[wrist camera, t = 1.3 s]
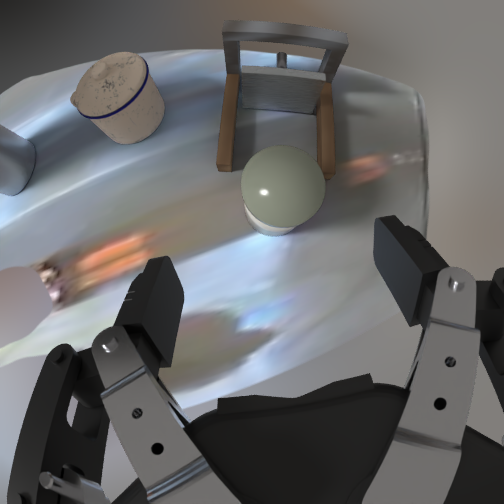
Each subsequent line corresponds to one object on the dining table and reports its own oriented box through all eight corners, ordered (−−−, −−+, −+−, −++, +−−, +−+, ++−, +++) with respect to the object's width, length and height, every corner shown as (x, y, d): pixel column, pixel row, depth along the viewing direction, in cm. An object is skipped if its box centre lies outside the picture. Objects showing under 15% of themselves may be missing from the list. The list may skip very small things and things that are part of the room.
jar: (241, 236, 32) (238, 223, 22) (245, 178, 32) (243, 142, 22) (301, 239, 32) (324, 229, 22) (303, 182, 32) (325, 149, 22)
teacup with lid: (175, 88, 33) (151, 33, 21) (157, 148, 32) (121, 102, 21) (101, 91, 33) (64, 48, 21) (81, 146, 32) (33, 112, 21)
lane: (218, 171, 32) (205, 132, 22) (229, 73, 33) (224, 20, 22) (329, 179, 32) (361, 146, 22) (325, 82, 33) (346, 33, 22)
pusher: (242, 107, 32) (241, 72, 25) (245, 73, 32) (245, 36, 25) (311, 113, 32) (325, 80, 25) (310, 79, 32) (322, 44, 25)
